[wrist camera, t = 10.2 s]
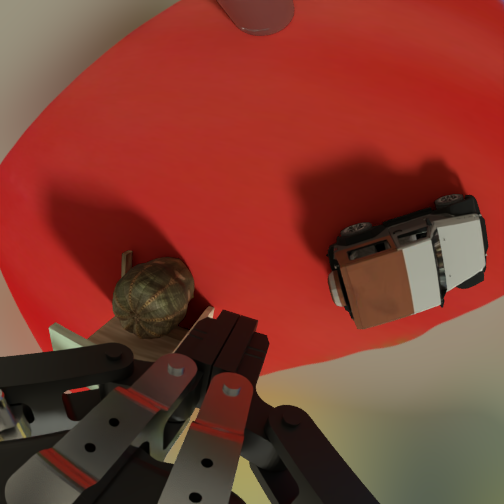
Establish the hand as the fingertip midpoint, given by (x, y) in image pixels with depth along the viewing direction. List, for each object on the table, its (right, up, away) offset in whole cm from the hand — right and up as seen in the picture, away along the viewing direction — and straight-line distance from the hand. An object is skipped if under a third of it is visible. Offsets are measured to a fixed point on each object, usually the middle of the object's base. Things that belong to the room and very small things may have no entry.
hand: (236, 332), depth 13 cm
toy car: (+23, +4, +28) cm, 36 cm away
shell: (-13, -2, +38) cm, 40 cm away
